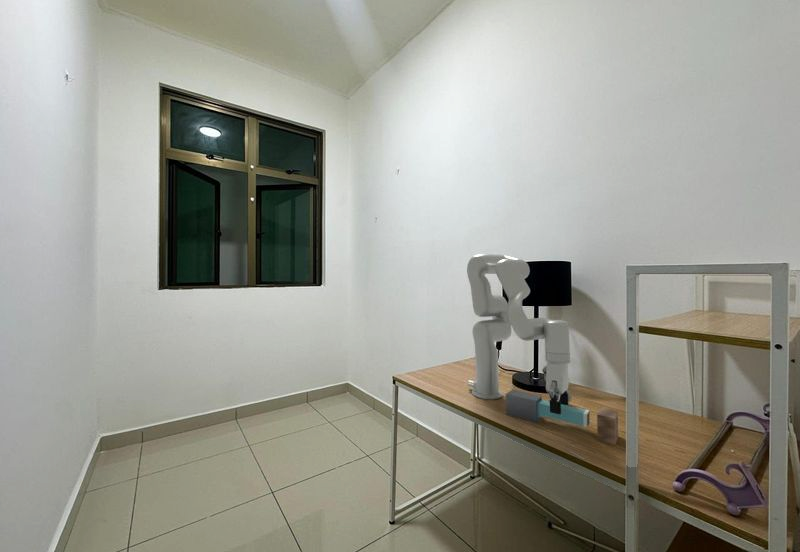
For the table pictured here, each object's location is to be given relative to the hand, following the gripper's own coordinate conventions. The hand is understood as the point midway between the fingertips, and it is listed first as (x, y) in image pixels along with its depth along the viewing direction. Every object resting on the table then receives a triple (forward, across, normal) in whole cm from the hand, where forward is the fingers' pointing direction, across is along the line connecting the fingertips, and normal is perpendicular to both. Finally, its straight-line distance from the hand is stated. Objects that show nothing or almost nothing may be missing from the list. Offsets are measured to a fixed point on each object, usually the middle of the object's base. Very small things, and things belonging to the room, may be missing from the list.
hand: (559, 408), depth 107 cm
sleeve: (+5, 0, -12) cm, 13 cm away
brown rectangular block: (+6, 0, +14) cm, 15 cm away
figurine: (+6, -19, -6) cm, 21 cm away
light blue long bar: (+3, 0, -4) cm, 5 cm away
